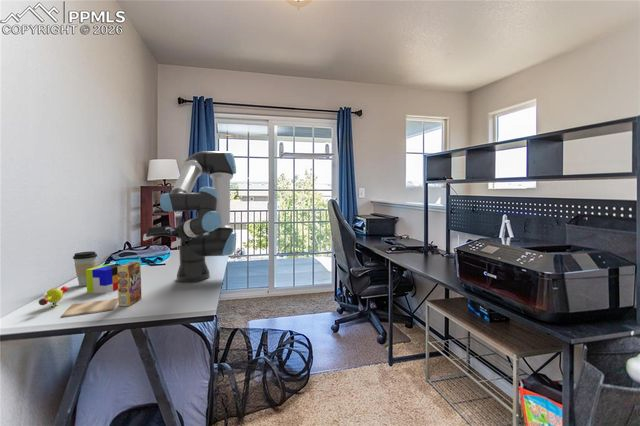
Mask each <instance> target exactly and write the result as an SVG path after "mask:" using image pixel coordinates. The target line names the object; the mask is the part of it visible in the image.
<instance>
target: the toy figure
mask: <svg viewBox="0 0 640 426" xmlns="http://www.w3.org/2000/svg"><path fill="white" fill-rule="evenodd" d="M68 291H69V287H67V286H62V287H60V288H50V289H49V290H47V291H46V292H44V293H43V294H42V295H43V297H44V298H43V297H42V298H40V299H39V301H38V305H40V306H45V305H47V304H48V303H51V304H52V305H51V306H50V308H56V307H57V306H58V302H60V301H61V300H62V299H63V298H64V297H63V296H64V293H67V292H68Z"/></svg>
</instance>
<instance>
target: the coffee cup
mask: <svg viewBox="0 0 640 426" xmlns="http://www.w3.org/2000/svg"><path fill="white" fill-rule="evenodd" d="M97 257H98V254H97V253H96V251H92V250H91V251H82V252H75V253H74V255H73V256H72V259H73V261H74V268H75V273H76V276H77V281H78V286H79V287H87V283H86V269H90V268H94V267H97V259H96V258H97Z"/></svg>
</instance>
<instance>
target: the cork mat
mask: <svg viewBox="0 0 640 426" xmlns="http://www.w3.org/2000/svg"><path fill="white" fill-rule="evenodd" d="M117 303H118V297H117V298H111V299H110V298H109V299H103V300H102V299H101V300H94V301H88V302H87V301H86V302H85V301H84V302H80V303H79V302H77V303H71V305H70V306H69V307H68V308H67V309H66V310H65V311H64V312H63V313H62V315H61V318H67V317H74V316H81V315H88V314H94V313H95V314H96V313H102V312H110V311H114V309H115V307H116V305H117Z"/></svg>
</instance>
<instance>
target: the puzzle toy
mask: <svg viewBox="0 0 640 426" xmlns="http://www.w3.org/2000/svg"><path fill="white" fill-rule="evenodd" d="M120 265H121V264H102V265H98V266H96V267H94V268H90V269H86V283H87V286H86V292H87V293H91V294H109V293H112V292H115V291H118V267H117V266H120Z"/></svg>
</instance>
